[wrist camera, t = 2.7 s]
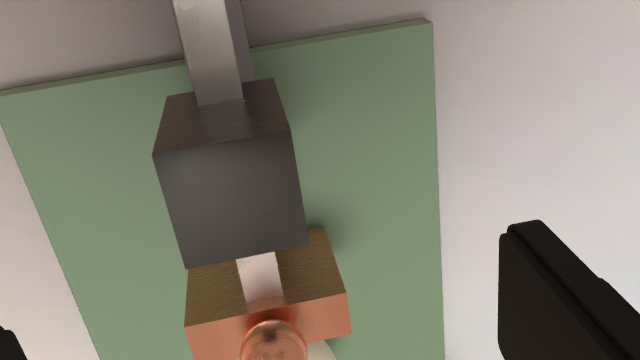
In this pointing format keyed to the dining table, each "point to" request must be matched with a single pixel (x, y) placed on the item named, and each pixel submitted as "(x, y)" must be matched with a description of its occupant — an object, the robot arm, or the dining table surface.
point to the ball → (319, 351)
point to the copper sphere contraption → (241, 209)
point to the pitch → (313, 170)
